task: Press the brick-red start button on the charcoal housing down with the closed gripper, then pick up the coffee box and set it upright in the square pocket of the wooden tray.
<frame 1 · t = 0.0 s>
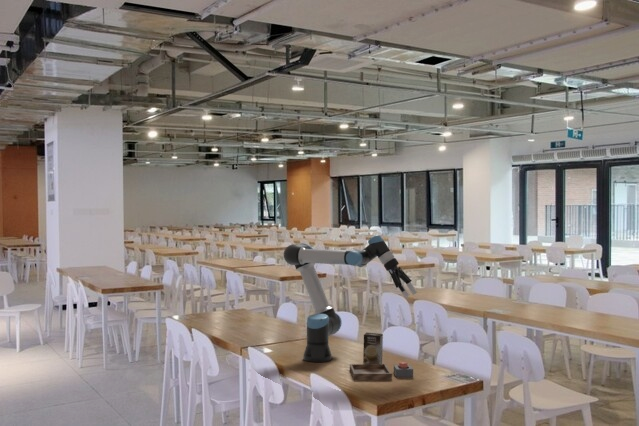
hand: (411, 295, 308), 36 cm above the table, tool tilted 35°, fingers open, 13 cm apart
start button housing: (403, 375, 285), on the table
coffee box: (372, 365, 305), on the table
wooden tray: (370, 374, 286), on the table
start button: (403, 366, 285), point 4 cm above the table, slide at 0.0 cm
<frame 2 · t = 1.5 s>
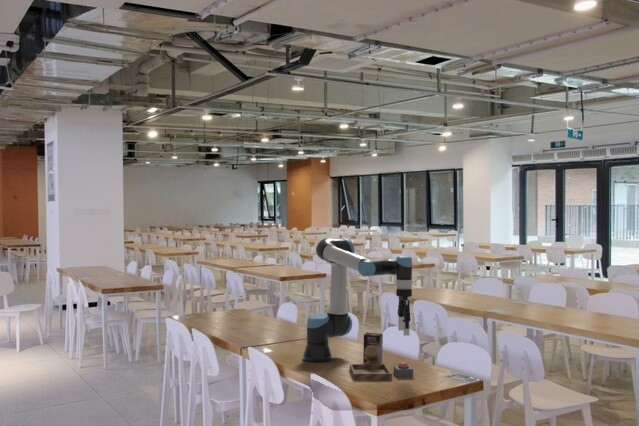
hand: (403, 332, 286), 21 cm above the table, tool pointing down, fingers open, 12 cm apart
nothing on the table moved.
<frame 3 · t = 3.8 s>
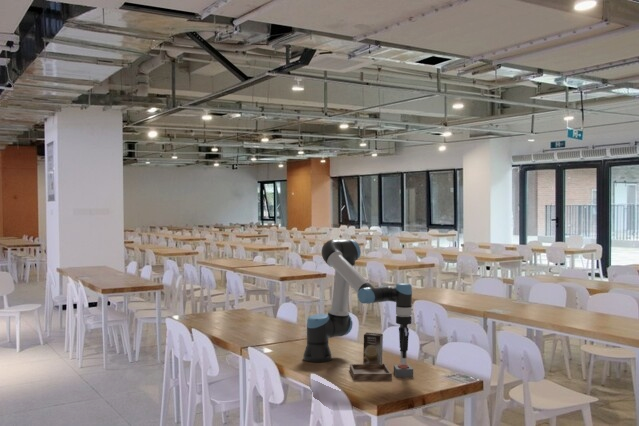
hand: (403, 364, 285), 5 cm above the table, tool pointing down, fingers closed
start button: (403, 368, 285), point 4 cm above the table, slide at 0.9 cm, touching gripper
everything else where it was.
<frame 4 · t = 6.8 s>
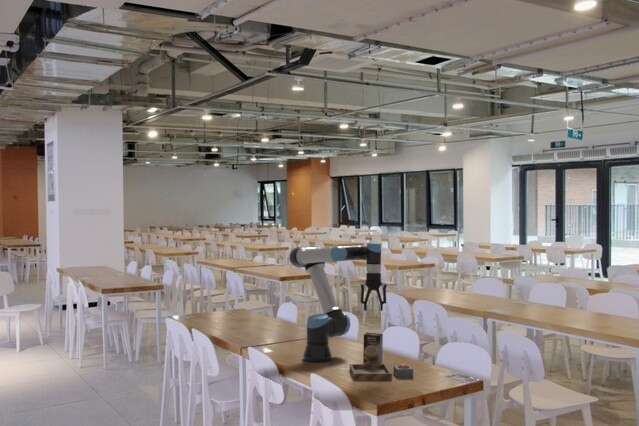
hand: (373, 316, 305), 25 cm above the table, tool pointing down, fingers open, 6 cm apart
start button: (403, 368, 285), point 3 cm above the table, slide at 1.0 cm
everything else where it was.
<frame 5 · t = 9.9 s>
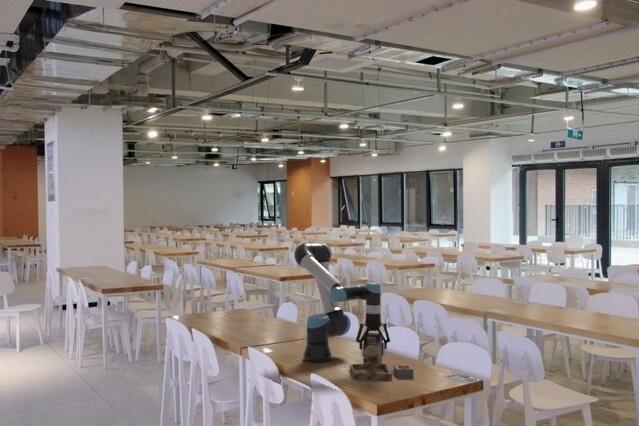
hand: (372, 355, 305), 5 cm above the table, tool pointing down, fingers closed on coffee box, 10 cm apart
coffee box: (372, 365, 305), on the table, touching gripper
everything else where it was.
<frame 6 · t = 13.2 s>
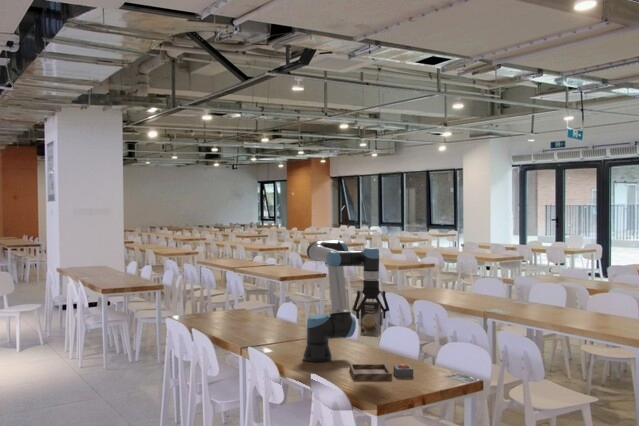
hand: (370, 325, 286), 24 cm above the table, tool pointing down, fingers closed on coffee box, 10 cm apart
coffee box: (370, 335, 286), point 19 cm above the table, touching gripper
everything else where it was.
when the fingers open (7 cm above the table, at t = 17.0 s): coffee box moves 1 cm, resting on wooden tray.
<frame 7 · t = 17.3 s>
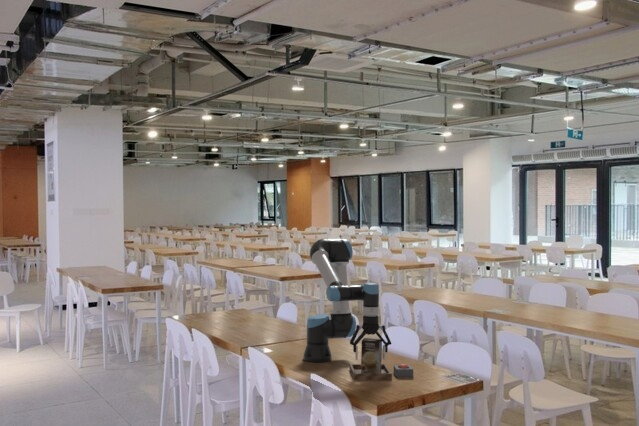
hand: (370, 359, 286), 8 cm above the table, tool pointing down, fingers open, 13 cm apart
coffee box: (371, 373, 286), point 1 cm above the table, touching wooden tray
everything else where it was.
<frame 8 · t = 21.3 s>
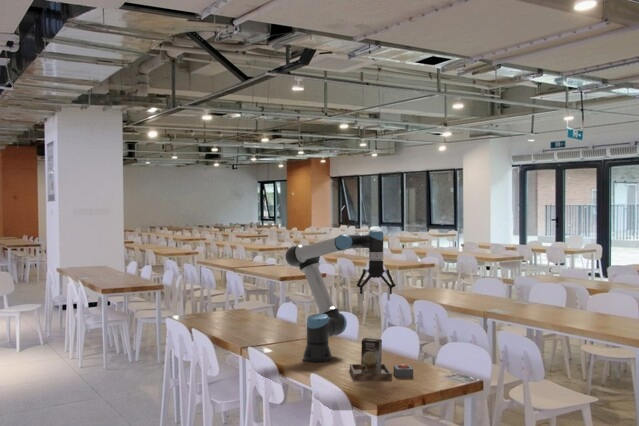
hand: (375, 300, 310), 33 cm above the table, tool pointing down, fingers open, 13 cm apart
nothing on the table moved.
at the end: start button slide at 1.0 cm; coffee box inside the target area on the wooden tray (0.5 cm from its centre), point 0.8 cm above the wooden tray's base; coffee box tilted 0° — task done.
